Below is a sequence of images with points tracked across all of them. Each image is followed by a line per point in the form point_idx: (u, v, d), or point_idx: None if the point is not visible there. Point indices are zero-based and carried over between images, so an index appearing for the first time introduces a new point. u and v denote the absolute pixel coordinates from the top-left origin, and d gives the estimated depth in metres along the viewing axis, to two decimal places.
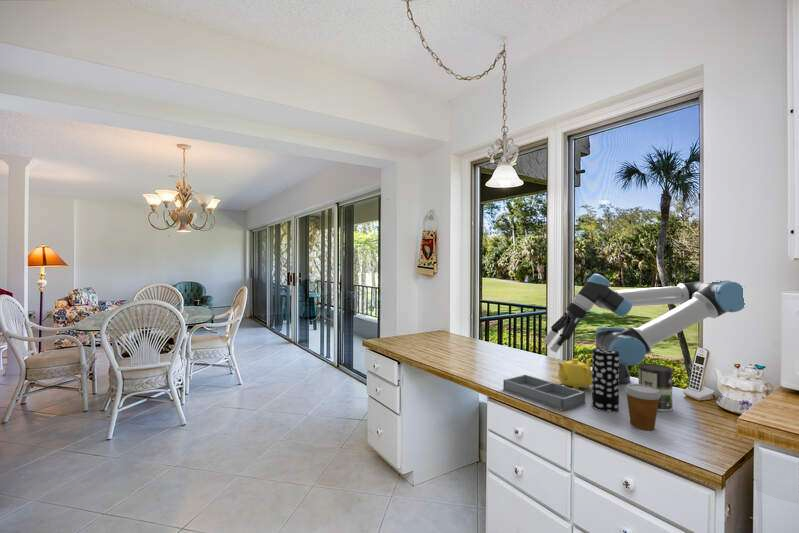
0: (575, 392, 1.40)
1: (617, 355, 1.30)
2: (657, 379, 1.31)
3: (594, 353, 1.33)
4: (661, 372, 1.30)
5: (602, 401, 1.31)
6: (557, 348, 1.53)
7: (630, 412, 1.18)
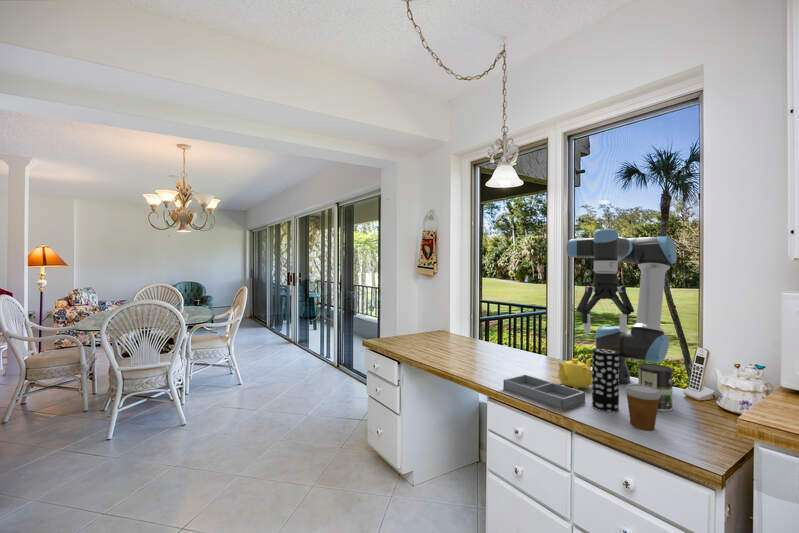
0: (575, 392, 1.40)
1: (617, 355, 1.30)
2: (657, 379, 1.31)
3: (594, 353, 1.33)
4: (661, 372, 1.30)
5: (602, 401, 1.31)
6: None
7: (630, 412, 1.18)
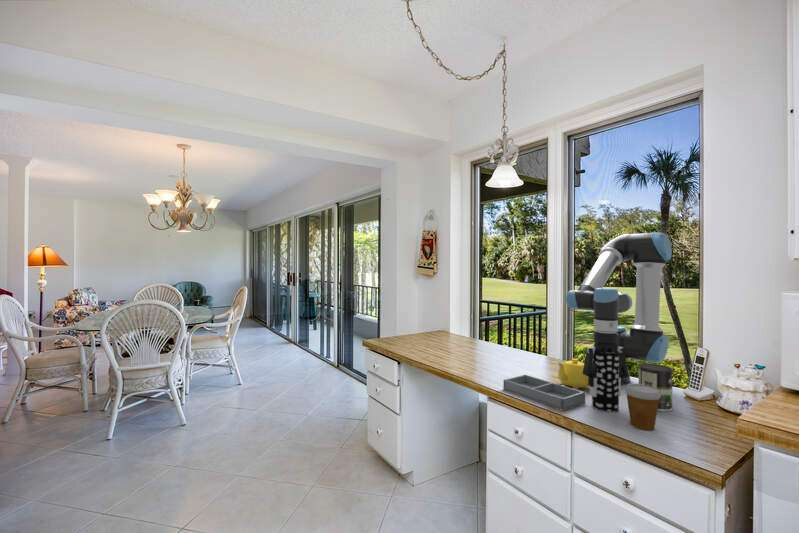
0: (575, 392, 1.40)
1: (617, 355, 1.30)
2: (657, 379, 1.31)
3: (594, 353, 1.33)
4: (661, 372, 1.30)
5: (602, 401, 1.31)
6: None
7: (630, 412, 1.18)
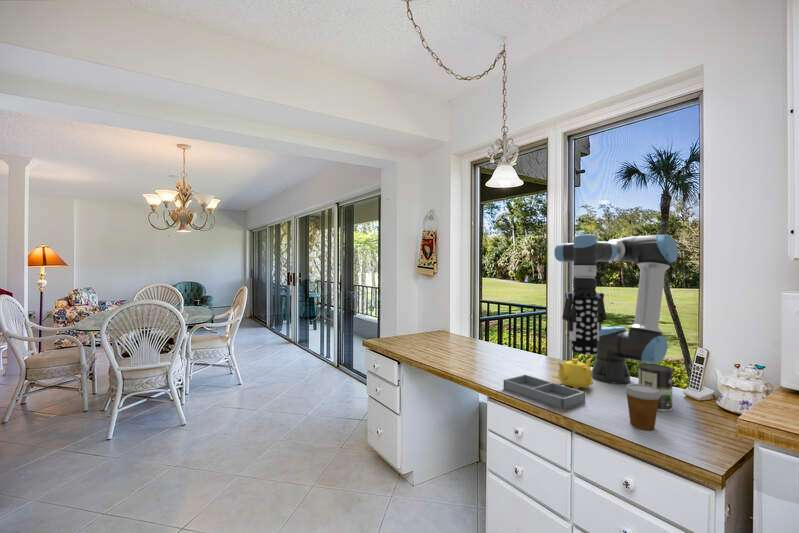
0: (575, 392, 1.40)
1: (596, 299, 1.33)
2: (657, 379, 1.31)
3: (574, 298, 1.36)
4: (661, 372, 1.30)
5: (581, 344, 1.33)
6: None
7: (630, 412, 1.18)
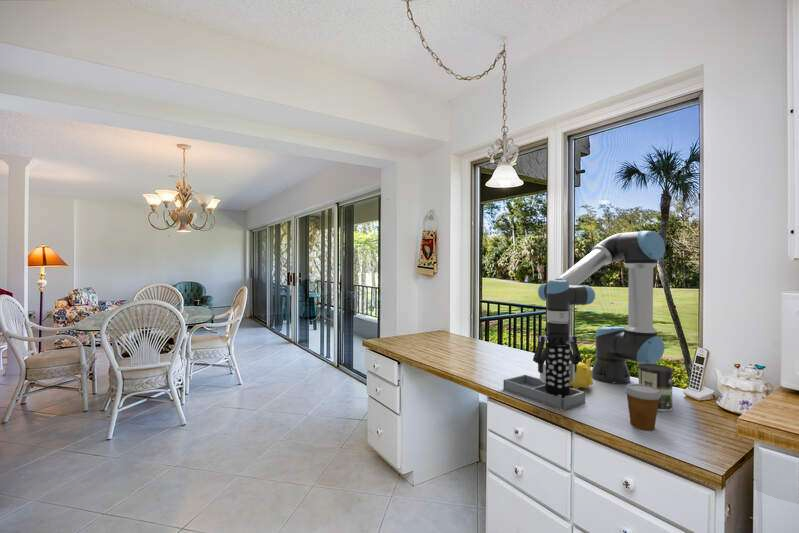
0: (575, 392, 1.40)
1: (567, 348, 1.37)
2: (657, 379, 1.31)
3: (547, 346, 1.40)
4: (661, 372, 1.30)
5: (553, 392, 1.37)
6: None
7: (630, 412, 1.18)
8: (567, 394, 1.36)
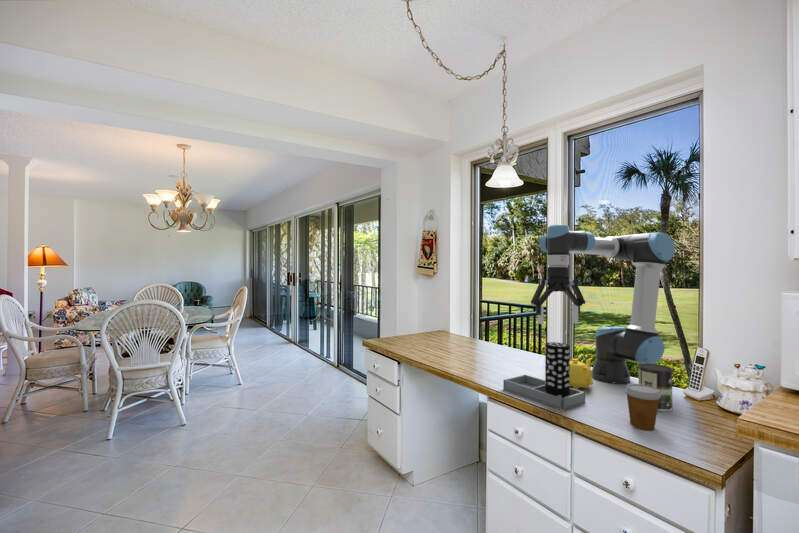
0: (575, 392, 1.40)
1: (567, 348, 1.36)
2: (657, 379, 1.31)
3: (546, 346, 1.39)
4: (661, 372, 1.30)
5: (553, 392, 1.37)
6: None
7: (630, 412, 1.18)
8: (567, 394, 1.36)
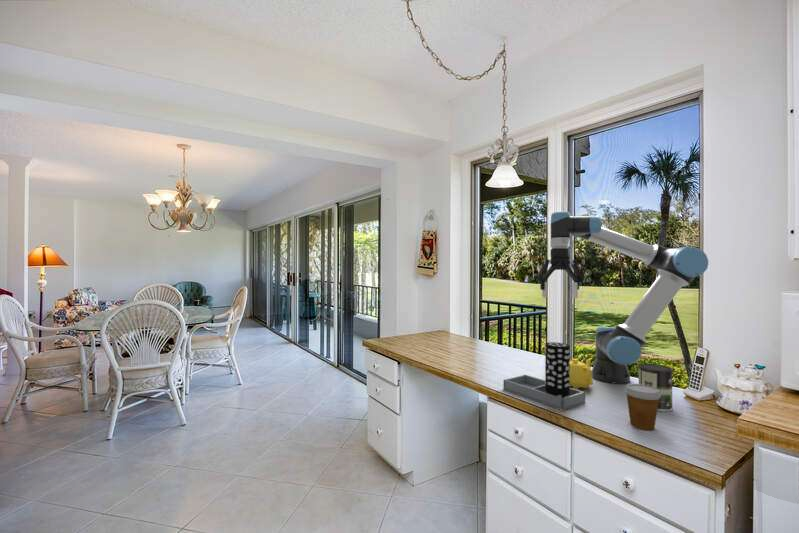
0: (575, 392, 1.40)
1: (567, 348, 1.36)
2: (657, 379, 1.31)
3: (546, 346, 1.39)
4: (661, 372, 1.30)
5: (553, 392, 1.37)
6: None
7: (630, 412, 1.18)
8: (567, 394, 1.36)
